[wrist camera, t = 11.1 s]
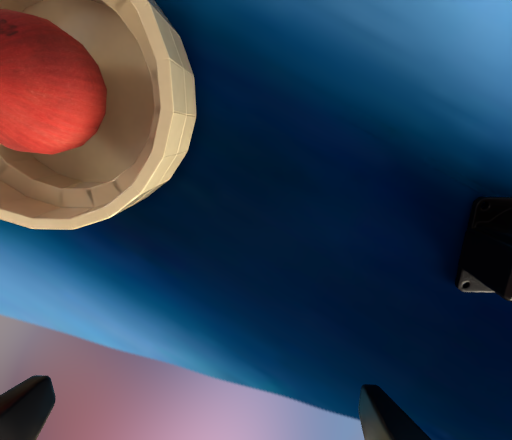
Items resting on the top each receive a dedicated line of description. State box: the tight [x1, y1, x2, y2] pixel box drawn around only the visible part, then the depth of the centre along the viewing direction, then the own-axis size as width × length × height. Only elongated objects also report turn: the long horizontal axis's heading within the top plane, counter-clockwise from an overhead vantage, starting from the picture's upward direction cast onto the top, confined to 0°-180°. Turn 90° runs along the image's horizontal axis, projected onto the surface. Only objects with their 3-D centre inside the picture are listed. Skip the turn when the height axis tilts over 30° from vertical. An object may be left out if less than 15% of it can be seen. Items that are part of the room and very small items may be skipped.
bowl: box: [0, 0, 196, 229], centre depth 15 cm, size 13×13×5 cm
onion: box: [0, 9, 107, 155], centre depth 13 cm, size 6×6×8 cm
